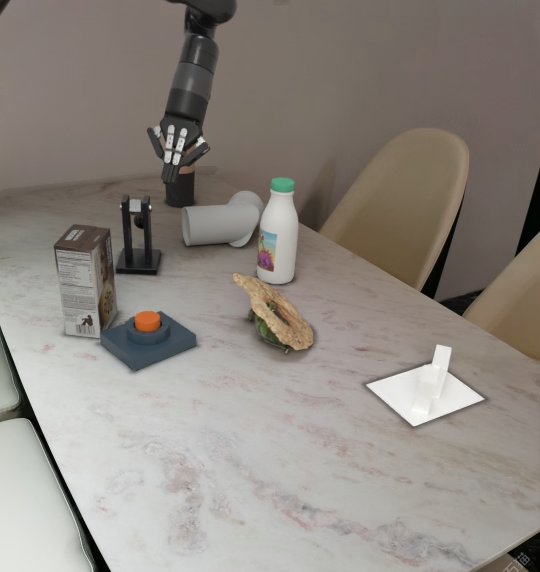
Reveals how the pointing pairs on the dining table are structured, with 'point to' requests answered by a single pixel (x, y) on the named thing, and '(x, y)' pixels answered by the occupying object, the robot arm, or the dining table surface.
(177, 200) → the travel mug
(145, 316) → the button
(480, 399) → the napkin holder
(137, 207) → the lever
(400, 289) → the dining table surface
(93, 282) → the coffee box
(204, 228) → the elbow connector
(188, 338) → the button box
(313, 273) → the dining table surface
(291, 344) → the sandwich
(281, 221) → the milk bottle
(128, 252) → the bracket
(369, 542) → the dining table surface
